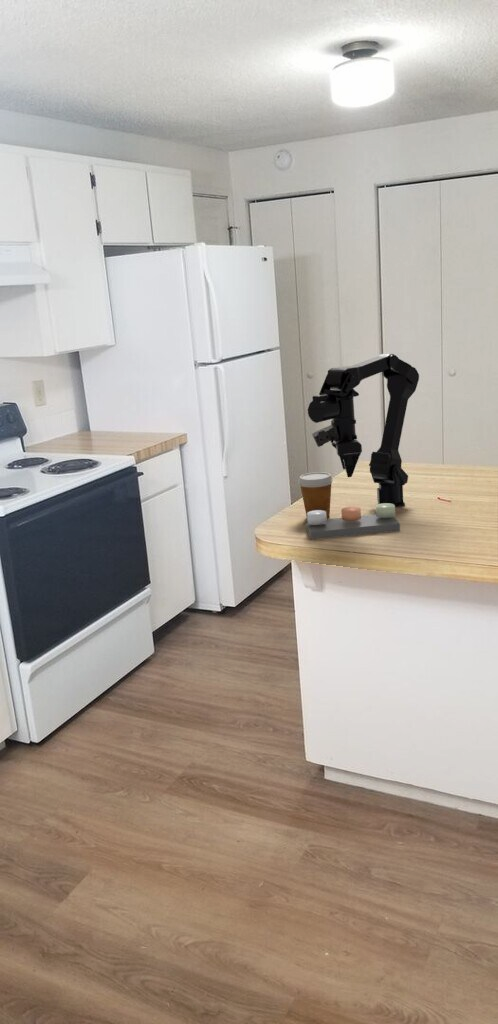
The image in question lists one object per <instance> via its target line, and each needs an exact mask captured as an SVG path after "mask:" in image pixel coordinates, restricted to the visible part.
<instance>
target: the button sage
mask: <svg viewBox="0 0 498 1024" xmlns="http://www.w3.org/2000/svg"><path fill="white" fill-rule="evenodd" d="M374 508H375V514H376V516H377V517H380V518H389V517H393V516H394V517H395V516H396V506H395V505H394V504H391V503H382V504H379V503H378V504H375V507H374Z"/></svg>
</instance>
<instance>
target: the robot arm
mask: <svg viewBox="0 0 498 1024" xmlns="http://www.w3.org/2000/svg"><path fill="white" fill-rule="evenodd" d="M380 373H381V376H382V377H384V379H386V389H387V391H388V394H389V402H388V407H387V411H386V417H385V423H384V426H383V427H384V428H383V433H382V438H381V444H380V447H379V448H378V449H377V451H372V452H371V456H370V461H369V464H368V466H369V472H370V474H371V477H372V481H373V483H374V484H378V488H376V496H377V502H378V504H382V503H391V504H394V505H395V507H401V506H405V505H406V503H405V502H404V486H406V485H405V484H407V483H408V480H409V474H408V473H406V471H405V470H404V469H403V468H402V463H403V462H402V460H403V459H402V458H401V454H400V452H399V448H400V442H401V437H402V432H403V427H404V421H405V417H406V412H407V407H408V401H409V399H410V398H411V397H412V395H413V394H414V393H415V392H416V389H417V387H418V384H419V381H420V374H419V371H418V370H417V368H416V367H414V366H412V365H411V364H410V363H408V362H406V361H404V360H402V359H400V358H399V357H398V356H397V355H395V354H394V353H380V354H378V355H377V356H375V357H372V358H369V359H366V360H364V361H362V362H359V363H357V364H354V365H348V366H347V365H346V366H337V367H336V366H335V367H331V368H330V369H327V374H326V376H325V378H324V381H323V383H322V386H321V388H320V390H319V393H318V395H313V396H312V401H311V402H309V404H308V408H307V415H308V417H309V419H310V421H312V422H313V423H317V424H318V423H322V422H325V421H329V420H330V425H328V426H325V427H323V428H321V429H318V430H317V431H314V432H313V433H311V435H312V437H313V439H314V442H315V444H316V446H317V447H318V448H320V447H322V446H324V445H325V444H327V443H331V446H332V447H333V448H335V450H336V454H337V456H338V457H339V460H340V463H341V467H342V470H345V473H346V477H347V478H351V477H353V474H354V471H355V469H356V465H358V464H357V463H358V461H359V458H360V456H361V454H362V452H363V447H362V444H361V442H360V441H359V440H358V435H357V434H356V424H357V420H356V419H355V404H354V398H356V397H359V395H360V394H359V392H358V391H356V390H355V389H354V388H356V387H358V386H359V385H360V383H361V382H362V381H363V380H365V379H368V378H370V377H372V376H375V375H378V374H380Z"/></svg>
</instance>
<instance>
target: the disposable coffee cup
mask: <svg viewBox="0 0 498 1024" xmlns="http://www.w3.org/2000/svg"><path fill="white" fill-rule="evenodd" d="M333 481H334V479H333V477H332V474H331V473H329V472H325V471H324V472H323V471H317V472H308V473H303V474H302V475H300V476H299V480H298V481H297V483H298V484H299V486H300V491H301V496H302V502H303V506H304V510H305V515H306V517H307V513H308V512H310V511H314V510H323V511H326V515H327V519H330V515H331V514H330V510H331V499H332V498H331V497H332V483H333Z"/></svg>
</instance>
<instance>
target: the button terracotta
mask: <svg viewBox="0 0 498 1024" xmlns="http://www.w3.org/2000/svg"><path fill="white" fill-rule="evenodd" d="M361 511H362V509H361V507H359V506H347V507H343V508H341V510H340V512H341V518H342V520H343V521H357V520H360V519H361V516H362V512H361Z"/></svg>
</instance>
